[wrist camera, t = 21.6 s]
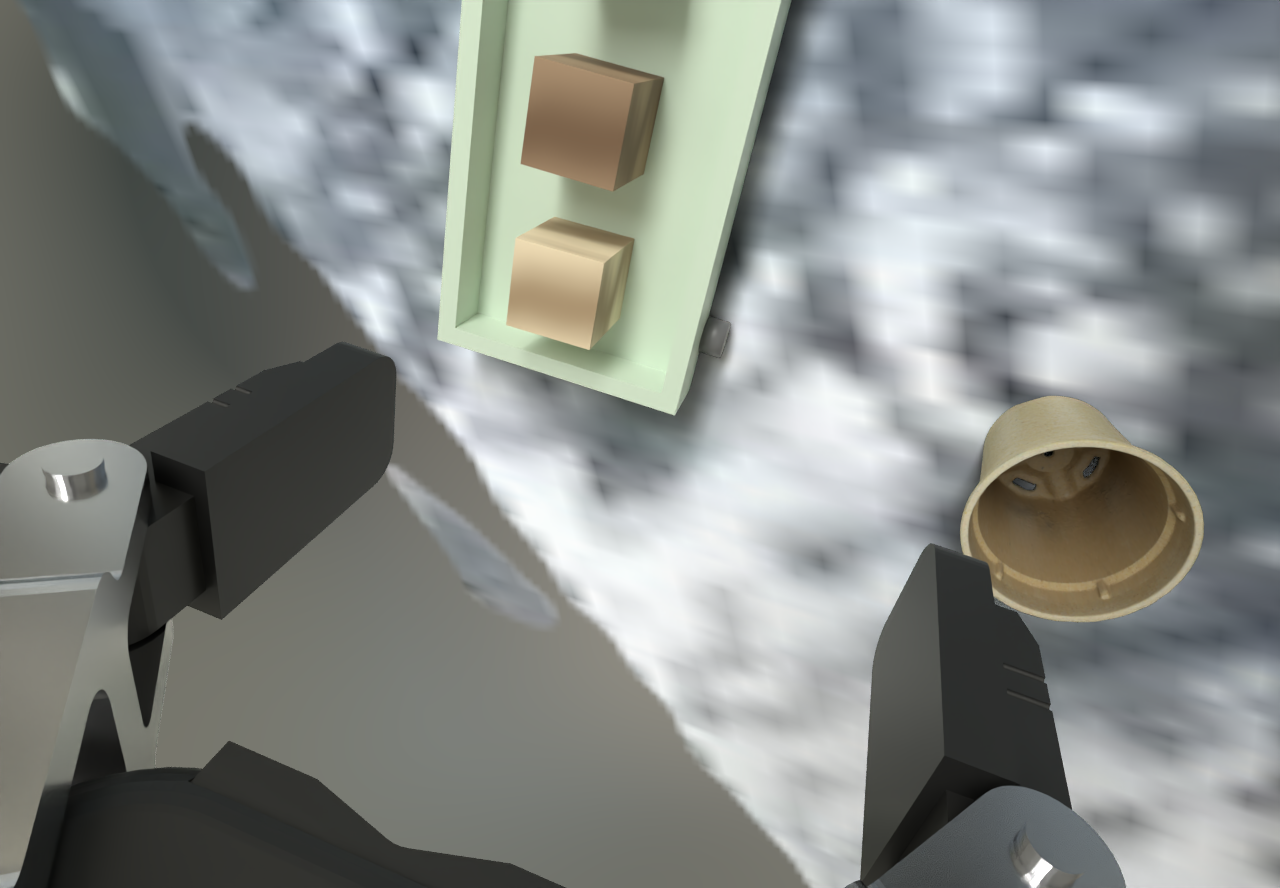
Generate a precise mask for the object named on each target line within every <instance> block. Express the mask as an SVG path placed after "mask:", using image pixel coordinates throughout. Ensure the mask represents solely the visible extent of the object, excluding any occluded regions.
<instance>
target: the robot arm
mask: <svg viewBox="0 0 1280 888" xmlns="http://www.w3.org/2000/svg"><path fill="white" fill-rule="evenodd" d="M395 392H396V367H395V364H394V362H393V360H392V359H391V358H390V357H387V356H384V355H381V354H378V353H376V352H373V351H369V350H367V349H364V348H361V347H358V346H355V345H352V344H349V343H346V342H340V343H337V344H335V345H333V346H331V347H330V348H328V349H326V350H324V351H323V352H321V353H319V354H317V355H316V356H314V357H312V358H311V359H309V360H307V361H305V362H300V361H299V362H296V363H292V364H288V365H284V366H280V367H276V368H272V369H268V370H264V371H262V372H260V373H259V374H257V375H255V376H253V377H251V378H250V379H248V380H246V381H244V382H242V383H241V384H239V385H237V386H236V389H235V390H233V389H230V390H228V391H226V392H224V393H223V394H221V395H219V396H217V397H215V398H214V400H213V402H212V403H210V402H206V403H204V404H203V405H201V406H199V407H197V408H195V409H194V410H192V411H190V412H188V413H187V414H185V415H183V416H181V417H180V418H177V419H176V420H174V421H172V422H170V423H168V424H166V425H165V426H163V427H161V428H159V429H158V430H156V431H154V432H152V433H150V434H148V435H147V436H145V437H143V438H141V439H139V440H138V441H136V442H134V443H132V444H131V445H125V444H123V443H119V442H115V441H110V440H101V439H79V440H70V441H63V442H58V443H54V444H50V445H47V446H43V447H40V448H37V449H35V450H32V451H30V452H28V453H26V454H24V455H22V456H20V457H18V458H17V459H15V460H14V461H13V462H11V463H10V464H4V463H0V888H565V887H563V886H561V885H558V884H556V883H554V882H551V881H549V880H547V879H544V878H542V877H540V876H538V875H536V874H533V873H531V872H529V871H526V870H524V869H522V868H519V867H517V866H515V865H513V864H510V863H503V862H496V861H490V860H483V859H476V858H469V857H463V856H455V855H449V854H442V853H436V852H429V851H423V850H416V849H409V848H405V847H401V846H398V845H396V844H393V843H392V842H391V841H389V840H388V839H386V838H385V837H384V836H383V835H382V834H381V833H379V832H378V831H377V830H376V829H375V828H374V827H373V826H371V825H370V824H369V823H368V822H367V821H365V820H364V819H363V818H362V817H361V816H360V815H358V814H357V813H356V812H355V811H354V810H353V809H351V808H350V807H349V806H348V805H347V804H346V803H344V802H343V801H342V800H341V799H340V798H338V797H337V796H336V795H335V794H334V793H333V792H331V791H330V790H329V789H328V788H327V787H326V786H324V785H323V784H322V783H321V782H319V780H317V779H315V778H313V777H311V776H309V775H306V774H304V773H302V772H300V771H297V770H295V769H293V768H290V767H288V766H286V765H283V764H281V763H279V762H277V761H274V760H272V759H270V758H267V757H265V756H263V755H261V754H258V753H256V752H254V751H251V750H249V749H247V748H244V747H242V746H240V745H238V744H235V743H233V742H231V741H228V742H227V744H225V745H224V747H223V748H222V749H221V750H220V751H219V752H218V753H217V754H216V755H215V756H214V757H213V758H212V759H211V760H210V762H209V763H208V764H207V765H206V766H205V767H204V768H203V769H199V768H182V767H164V768H155V758H156V747H157V740H158V733H159V727H160V720H161V714H162V707H163V701H164V694H165V688H166V680H167V675H168V668H169V661H170V655H171V648H172V642H173V634H174V633H173V632H174V631H173V630H174V629H173V623H172V618H173V617H174V616H175V615H176V614H177V613H179V612H180V611H181V610H182V609H183V608H185V607H186V606H190V607H192V608H195V609H197V610H200V611H202V612H204V613H207V614H209V615H212V616H214V617H216V618H219V619H221V620H222V619H223V618H224V617H225V616H226V615H227V614H228V613H230V612H231V611H232V610H233V609H234V608H236V607H237V606H238V605H239V604H240V603H241V602H242V601H243V600H245V599H246V598H247V597H248V596H249V595H250V594H251V593H252V592H254V591H255V590H256V589H257V588H258V587H259V586H260V585H262V584H263V583H264V582H265V581H266V580H267V579H268V578H270V577H271V576H272V575H273V574H274V573H275V572H276V571H277V570H279V569H280V568H281V567H282V566H283V565H284V564H285V563H287V562H288V561H289V560H290V559H291V558H292V557H293V556H294V555H296V554H297V553H298V552H299V551H300V550H301V549H302V548H304V547H305V546H306V545H307V544H308V543H309V542H310V541H311V540H313V539H314V538H315V537H316V536H317V535H318V534H319V533H320V532H322V531H323V530H324V529H325V528H326V527H327V526H328V525H330V524H331V523H332V522H333V521H334V520H335V519H336V518H338V517H339V516H340V515H341V514H342V513H343V512H344V511H345V510H347V509H348V508H349V507H350V506H351V505H352V504H353V503H355V502H356V501H357V500H358V499H359V498H360V497H361V496H362V495H364V494H365V493H366V492H367V491H368V490H369V489H370V488H371V487H373V486H374V485H375V484H376V483H377V482H378V480H379V479H380V478H381V477H382V475H383V474H384V472H385V470H386V468H387V466H388V464H389V461H390V459H391V455H392V450H393V443H394V418H395V417H394V416H395V394H396V393H395ZM1044 679H1045V674H1044V669H1043V664H1042V659H1041V654H1040V649H1039V645H1038V644H1037V642H1036V641H1035V639H1034V637H1033V636H1032V634H1031V633H1030V631H1029V630H1028V628H1027V627H1026V625H1025V624H1024V622H1023V621H1022V619H1021V618H1020V616H1019V615H1018V613H1017V612H1014V611H1012V610H1009V609H1006V608H1003V607H1000V606H997V605H995V603H994V596H993V589H992V582H991V575H990V568H989V565H988V563H987V562H985V561H982V560H979V559H976V558H973V557H970V556H967V555H964V554H961V553H958V552H955V551H952V550H950V549H947V548H944V547H941V546H938V545H935V544H929V545H928V546H926V548H925V549H924V550H923V552H922V554H921V555H920V557H919V559H918V561H917V563H916V565H915V567H914V569H913V571H912V573H911V575H910V577H909V578H908V580H907V582H906V584H905V586H904V588H903V590H902V592H901V594H900V596H899V598H898V600H897V602H896V604H895V606H894V608H893V610H892V612H891V613H890V615H889V617H888V619H887V621H886V623H885V625H884V628H883V630H882V633H881V635H880V638H879V641H878V644H877V648H876V652H875V656H874V661H873V669H872V685H871V702H870V720H869V737H868V754H867V772H866V789H865V806H864V824H863V841H862V858H861V876H860V880H858V881H855V882H853V883H851V884H849V885H848V886H846V887H845V888H1126V886H1125V881H1124V878H1123V875H1122V872H1121V870H1120V867H1119V865H1118V863H1117V862H1116V860H1115V858H1114V856H1113V854H1112V853H1111V851H1110V850H1109V848H1108V847H1107V845H1106V844H1105V842H1104V841H1103V840H1102V839H1101V838H1100V836H1099V835H1098V834H1097V833H1096V832H1095V830H1094V829H1093V828H1092V827H1091V826H1090V825H1088V824H1087V823H1086V822H1085V821H1084V820H1083V819H1082V818H1081V817H1080V816H1079V815H1077V814H1076V813H1075V812H1074V811H1072V807H1071V802H1070V797H1069V792H1068V787H1067V782H1066V777H1065V772H1064V767H1063V762H1062V758H1061V753H1060V748H1059V743H1058V738H1057V733H1056V728H1055V723H1054V718H1053V713H1052V711H1050V710H1049V707H1050V705H1051V703H1050V698H1049V693H1048V689H1047V684H1045V683H1044Z"/></svg>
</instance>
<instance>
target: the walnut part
mask: <svg viewBox="0 0 1280 888" xmlns="http://www.w3.org/2000/svg"><path fill="white" fill-rule="evenodd" d="M663 82H664V77H661V76H657V75H654V74H650V73H646V72H643V71H639V70H635V69H632V68H628V67H625V66H621V65H617V64H614V63H610V62H606V61H603V60H599V59H596V58H592V57H588V56H585V55H581V54H577V53H570V54H556V55H542V56H535V58H534V65H533V73H532V80H531V88H530V95H529V103H528V111H527V118H526V126H525V133H524V141H523V148H522V156H521V163H520V164H522V165H526V166H529V167H532V168H536V169H539V170H542V171H546V172H549V173H552V174H556V175H559V176H562V177H566V178H569V179H572V180H576V181H579V182H582V183H586V184H589V185H592V186H596V187H599V188H602V189H606V190H609V191H612V192H613V191H615V190H617V189H619V188H620V187H622V186H624V185H626V184H627V183H629V182H631V181H633V180H634V179H636V178H638V177H640V176H641V175H643V174H644V171H645V166H646V161H647V157H648V152H649V147H650V143H651V138H652V133H653V129H654V124H655V119H656V114H657V110H658V105H659V100H660V96H661V91H662V86H663Z"/></svg>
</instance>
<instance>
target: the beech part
mask: <svg viewBox="0 0 1280 888" xmlns="http://www.w3.org/2000/svg"><path fill="white" fill-rule="evenodd" d="M634 240H635V239H634V238H631V237H627V236H623V235H620V234H616V233H612V232H609V231H605V230H601V229H598V228H594V227H591V226H587V225H583V224H580V223H576V222H572V221H569V220H565V219H561V218H558V217H553V218H551V219H549V220H547V221H546V222H544V223H542V224H540V225H538V226H536V227H535V228H533V229H531V230H529V231H527V232H526V233H524V234H522V235H520V236H518V237H516V238H515V247H514V257H513V266H512V275H511V285H510V294H509V303H508V313H507V322H506V325H508V326H511V327H514V328H517V329H521V330H524V331H527V332H531V333H534V334H537V335H541V336H544V337H547V338H551V339H554V340H557V341H561V342H564V343H567V344H571V345H574V346H577V347H581V348H584V349H587V350H590V349H591V348H592V347H593V346H594V345H595V344H596V343H597V342H598V341H599V340H600V339H601V338H602V337H603V335H604V334H605V333H606V332H607V331H608V330H609V329H610V328H611V327H612V326H613V325H614V324H615V323H616V322H617V321H618V320H619V319H620V315H621V309H622V304H623V299H624V293H625V288H626V282H627V277H628V272H629V266H630V261H631V256H632V250H633V245H634Z"/></svg>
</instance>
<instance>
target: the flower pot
mask: <svg viewBox="0 0 1280 888" xmlns="http://www.w3.org/2000/svg"><path fill="white" fill-rule="evenodd" d="M1048 451H1053V454H1052V455H1050V456H1046V455H1045V454H1044V453H1045V452H1048ZM1094 457H1099V460H1098V464H1097V466H1096V468H1095V470H1094V471H1093V473H1092V474H1091V475H1089V476H1088V477H1084V475H1083V471H1084V470H1085V469H1086V468H1087V467H1088V466H1089V465H1090V463H1091V461H1092V460H1093V459H1094ZM1015 478H1020V479H1022V480H1025V481H1027V482H1029V483H1032V484H1036V487H1035V489H1034V490H1025V489H1023V488H1022V487H1020V486H1019V485H1016V484H1014V483H1013V480H1015ZM1203 535H1204V521H1203V512H1202V510H1201V506H1200V503H1199V501H1198V498H1197V496H1196V494H1195V492H1194V491H1193V489H1192V488H1191V486H1190V485H1189V483H1188V482H1187V481H1186V480H1185V478H1184V477H1183V476H1182V475H1181V474H1180V473H1179V472H1178V471H1177V470H1176V469H1174V468H1173V467H1172V466H1171V465H1170V464H1168V463H1167V462H1165V461H1164V460H1163V459H1161V458H1160V457H1158V456H1156V455H1154V454H1153V453H1150V452H1148V451H1146V450H1144V449H1141V448H1139V447H1136V446H1133V445H1131V443H1130V442H1129V441H1128V440H1127V439H1126V438H1125V437H1123V435H1122V434H1121V433H1120V432H1119V431H1118V430H1117V429H1116V428H1115V427H1114V426H1113V425H1112V424H1111V423H1110V422H1109V421H1108V420H1107V419H1106V417H1105V416H1104V415H1103V414H1102V413H1101V412H1099V411H1098V410H1097V409H1095V408H1094V407H1092V406H1091V405H1089V404H1087V403H1085V402H1083V401H1080V400H1077V399H1073V398H1069V397H1063V396H1045V397H1042V398H1038V399H1035V400H1031V401H1028V402H1025V403H1022V404H1019V405H1016V406H1014V407H1012V408H1010V409H1009V410H1007V411H1006V412H1005V413H1003V414H1002V415H1001V416H1000V417H999V418H998V419H997V420H996V422H995V423H994V424H993V425H992V427H991V429H990V430H989V432H988V434H987V436H986V439H985V443H984V448H983V460H982V469H981V476H980V482H979V484H978V485H977V486H976V488H975V489H974V490H973V492H972V494H971V495H970V497H969V499H968V501H967V503H966V506H965V509H964V511H963V515H962V519H961V526H960V540H961V547H962V552H963V554H964V555H967V556H970V557H973V558H976V559H979V560H982V561H985V562H987V563H988V565H989V568H990V575H991V582H992V589H993V596H994V597H995V598H997V599H998V600H1000V601H1001V602H1003V603H1004V604H1006V605H1008V606H1010V607H1012V608H1014V609H1016V610H1018V611H1021V612H1023V613H1026V614H1029V615H1032V616H1036V617H1039V618H1044V619H1048V620H1054V621H1072V622H1097V621H1102V620H1107V619H1114V618H1118V617H1121V616H1125V615H1127V614H1131V613H1133V612H1135V611H1138V610H1140V609H1142V608H1145V607H1147V606H1149V605H1151V604H1153V603H1154V602H1156V601H1157V600H1158V599H1160V598H1162V597H1163V596H1164V595H1166V594H1167V593H1169V592H1170V591H1171V590H1172V589H1173V588H1174V587H1175V586H1177V585H1178V583H1179V582H1181V580H1182V579H1183V578H1184V577H1185V576H1186V574H1187V573H1188V572H1189V570H1190V569H1191V567H1192V566H1193V564H1194V562H1195V560H1196V559H1197V557H1198V554H1199V551H1200V549H1201V545H1202V541H1203Z"/></svg>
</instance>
